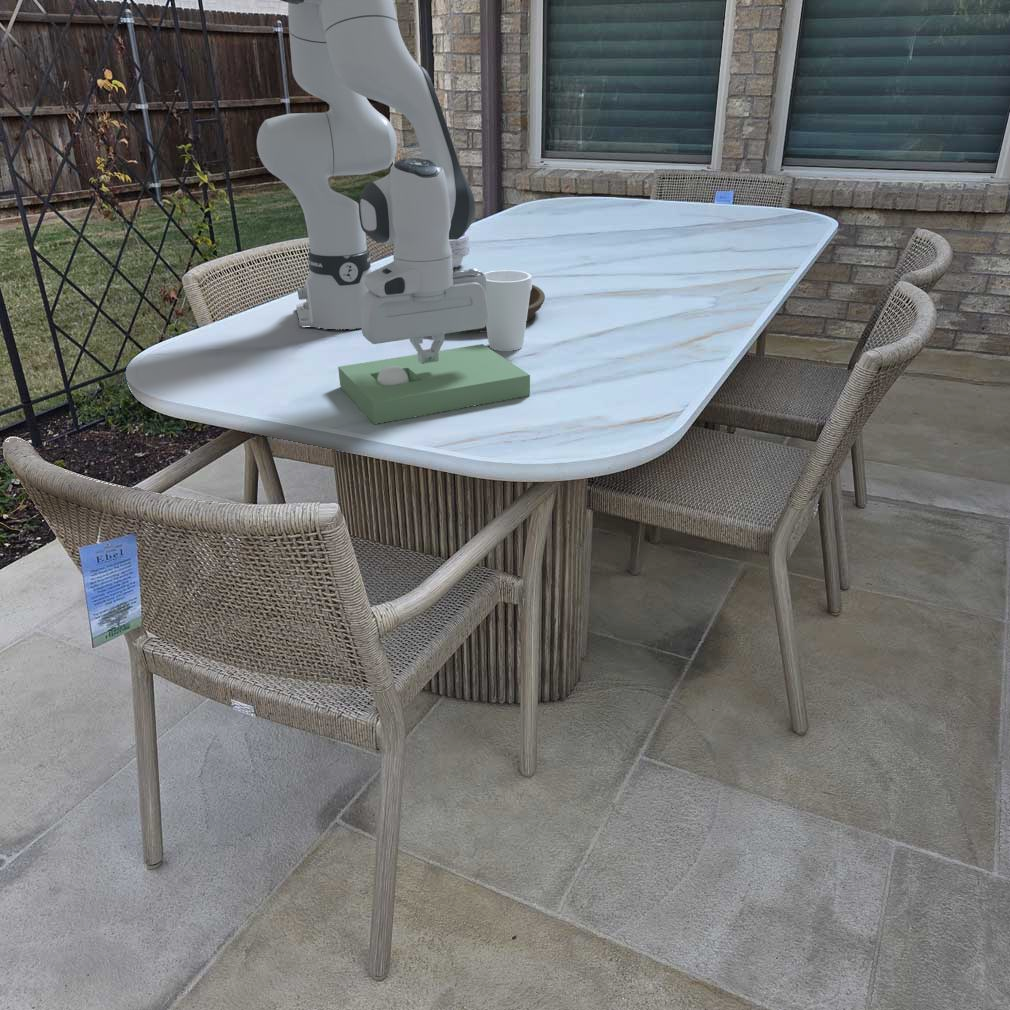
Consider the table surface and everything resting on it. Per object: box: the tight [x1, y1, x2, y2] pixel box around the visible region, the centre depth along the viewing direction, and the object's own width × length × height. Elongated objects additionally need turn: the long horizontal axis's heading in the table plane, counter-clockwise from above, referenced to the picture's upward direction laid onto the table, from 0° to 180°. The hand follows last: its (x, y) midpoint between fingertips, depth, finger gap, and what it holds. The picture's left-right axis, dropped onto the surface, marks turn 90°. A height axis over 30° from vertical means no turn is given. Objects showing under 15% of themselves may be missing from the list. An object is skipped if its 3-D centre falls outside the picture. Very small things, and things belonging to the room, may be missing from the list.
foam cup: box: [482, 269, 533, 352], centre depth 157 cm, size 10×9×13 cm
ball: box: [377, 366, 409, 386], centre depth 135 cm, size 5×5×5 cm
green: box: [337, 343, 531, 425], centre depth 138 cm, size 18×26×4 cm
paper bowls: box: [449, 231, 470, 269], centre depth 217 cm, size 15×15×8 cm
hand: (428, 361), depth 137 cm, fingers closed
